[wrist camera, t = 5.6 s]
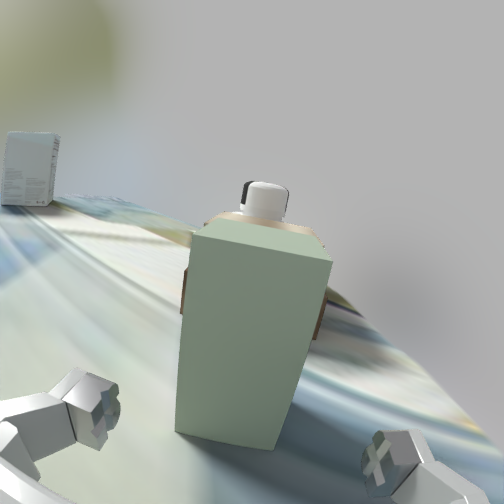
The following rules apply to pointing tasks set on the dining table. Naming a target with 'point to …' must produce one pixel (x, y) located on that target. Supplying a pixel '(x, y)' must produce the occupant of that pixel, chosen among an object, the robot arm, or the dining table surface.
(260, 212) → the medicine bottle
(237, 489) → the dining table surface
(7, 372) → the dining table surface
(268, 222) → the tower top
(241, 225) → the sage block
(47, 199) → the supplement box
